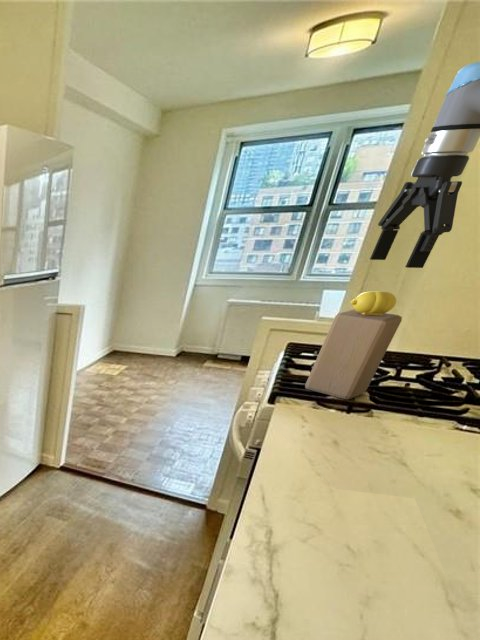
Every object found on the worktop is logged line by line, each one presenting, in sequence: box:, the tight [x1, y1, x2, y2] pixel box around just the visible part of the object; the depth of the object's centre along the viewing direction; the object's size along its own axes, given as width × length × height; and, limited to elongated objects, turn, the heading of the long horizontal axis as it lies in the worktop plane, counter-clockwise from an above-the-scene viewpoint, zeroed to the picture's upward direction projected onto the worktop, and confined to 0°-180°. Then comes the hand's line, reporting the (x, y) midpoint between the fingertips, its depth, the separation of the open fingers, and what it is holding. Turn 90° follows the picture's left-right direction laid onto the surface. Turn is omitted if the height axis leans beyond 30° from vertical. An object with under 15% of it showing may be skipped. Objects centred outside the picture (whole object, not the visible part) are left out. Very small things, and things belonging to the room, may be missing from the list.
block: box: [304, 308, 403, 401], centre depth 121 cm, size 10×10×20 cm
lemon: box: [350, 290, 397, 316], centre depth 115 cm, size 8×5×5 cm, turn 73°
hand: (394, 263), depth 111 cm, fingers open, 13 cm apart
